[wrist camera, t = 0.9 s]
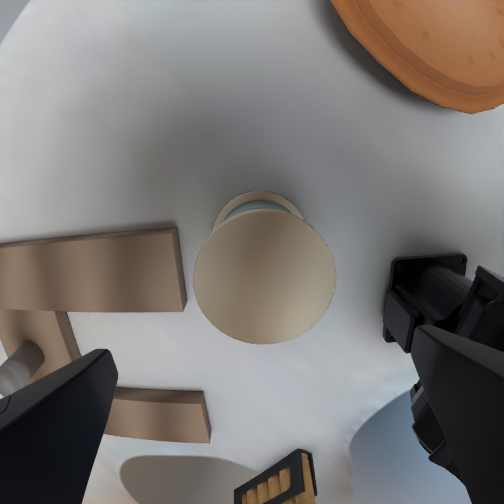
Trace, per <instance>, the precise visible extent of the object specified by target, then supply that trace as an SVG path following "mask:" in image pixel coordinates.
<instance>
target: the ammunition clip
mask: <svg viewBox="0 0 504 504" xmlns="http://www.w3.org/2000/svg"><path fill="white" fill-rule="evenodd" d="M315 496H317V487H316V480H315V472H314V465H313V458H312V454H311V453H308V452H305V451H303V450H300V449H296V450H295V451H294V452H292V453H291V454H289V455H288V456H287V457H285V458H284V459H282V460H281V461H279V462H278V463H276V464H275V465H273V466H272V467H270V468H269V469H267V470H266V471H264V472H263V473H261V474H259V475H258V476H256V477H255V478H253V479H251V480H250V481H249V482H246V483H245V484H243V485H241V486H240V487H238V488H236V489H235V490H234V504H316V503H315Z"/></svg>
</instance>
